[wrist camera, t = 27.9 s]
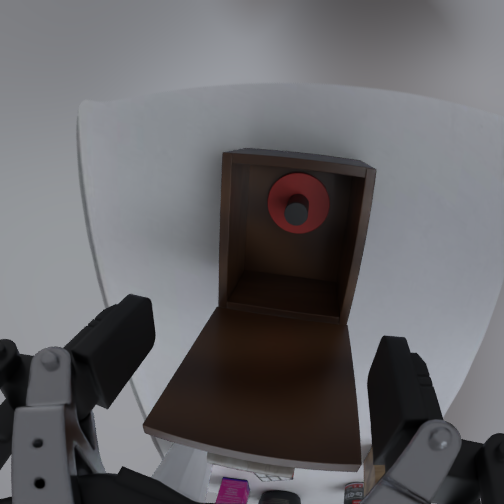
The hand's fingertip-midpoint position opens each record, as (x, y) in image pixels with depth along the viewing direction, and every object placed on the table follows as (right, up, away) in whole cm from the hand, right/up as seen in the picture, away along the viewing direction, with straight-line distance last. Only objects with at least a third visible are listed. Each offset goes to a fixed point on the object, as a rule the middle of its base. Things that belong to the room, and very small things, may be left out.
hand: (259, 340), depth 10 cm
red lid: (+4, +8, +20) cm, 22 cm away
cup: (-12, -36, +42) cm, 56 cm away
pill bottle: (+22, -47, +39) cm, 65 cm away
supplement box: (-3, -49, +45) cm, 67 cm away
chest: (+4, +6, +21) cm, 23 cm away
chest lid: (+1, -5, +10) cm, 11 cm away
